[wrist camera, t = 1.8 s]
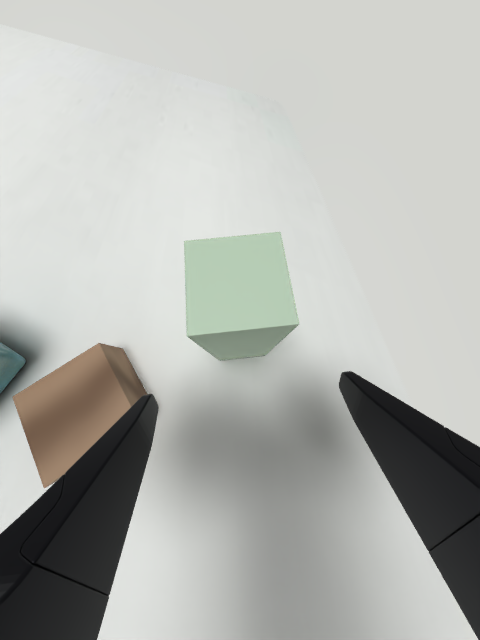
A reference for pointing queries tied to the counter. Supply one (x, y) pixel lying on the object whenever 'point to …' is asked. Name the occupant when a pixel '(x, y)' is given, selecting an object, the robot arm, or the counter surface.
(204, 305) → the sage pillar
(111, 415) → the walnut block
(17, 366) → the flower pot
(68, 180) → the counter surface
